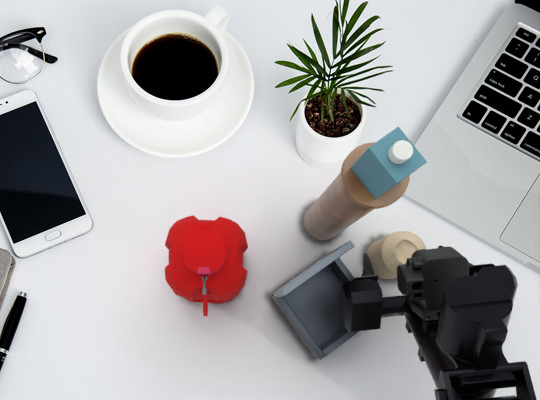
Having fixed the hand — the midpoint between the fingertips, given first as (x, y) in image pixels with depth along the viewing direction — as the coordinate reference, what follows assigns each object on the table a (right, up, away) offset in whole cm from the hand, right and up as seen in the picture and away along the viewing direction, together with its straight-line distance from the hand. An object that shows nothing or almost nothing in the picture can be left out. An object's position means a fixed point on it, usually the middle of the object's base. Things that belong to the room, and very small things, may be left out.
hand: (402, 252), depth 76 cm
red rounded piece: (-24, -4, +8) cm, 25 cm away
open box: (-9, -8, +7) cm, 14 cm away
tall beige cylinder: (-8, +3, +9) cm, 12 cm away
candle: (0, -2, +8) cm, 8 cm away
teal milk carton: (-10, +9, -21) cm, 24 cm away
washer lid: (-12, -2, -4) cm, 12 cm away
